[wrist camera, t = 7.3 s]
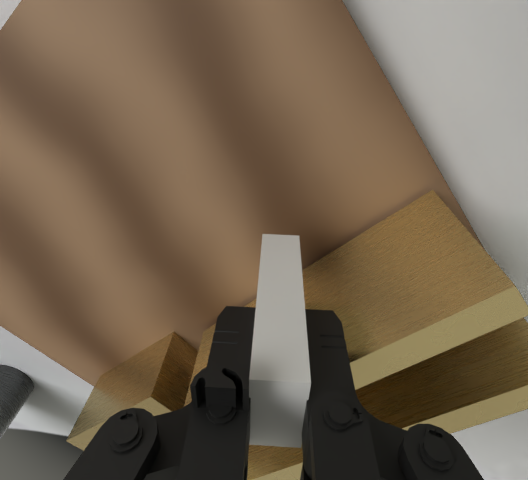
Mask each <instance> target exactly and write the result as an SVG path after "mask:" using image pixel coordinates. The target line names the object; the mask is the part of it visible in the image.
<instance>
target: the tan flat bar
mask: <svg viewBox="0 0 528 480" xmlns="http://www.w3.org/2000/svg"><path fill="white" fill-rule="evenodd" d="M302 276H303V289H304V301H305V309H315V310H333V311H334V313H335V314H336V315H337V317H338V318H339V319H340V321H341V322H342V326H343V331H344V339H345V341H346V346H347V351H348V356H349V361H350V367H351V372H352V377H353V382H354V387H355V390H356V389H359V388H361V387H363V386H366V385H368V384H370V383H372V382H375V381H377V380H379V379H382V378H384V377H386V376H389V375H391V374H393V373H396V372H398V371H400V370H403V369H405V368H407V367H410V366H412V365H414V364H417V363H419V362H421V361H423V360H426V359H428V358H430V357H433V356H435V355H437V354H440V353H442V352H444V351H447V350H449V349H451V348H454V347H456V346H458V345H461V344H463V343H465V342H468V341H470V340H472V339H475V338H477V337H479V336H481V335H484V334H486V333H488V332H491V331H493V330H495V329H498V328H500V327H502V326H505V325H507V324H509V323H512V322H514V321H516V320H519V319H521V318H523V317H526V316H528V306H527V304H526V302H525V301H524V299H523V298H522V296H521V294H520V293H519V291H518V289H517V288H516V286H515V285H514V284H513V283H512V281H511V280H510V279H509V278H508V277H507V276H506V274H505V273H504V272H503V271H502V270H501V269H500V267H499V266H498V265H497V264H496V263H495V262H494V260H493V259H492V258H491V257H490V256H489V255H488V253H487V252H486V251H485V250H484V249H483V248H482V247H481V245H480V244H479V243H478V242H477V241H476V240H475V238H474V237H473V236H472V235H471V234H470V233H469V231H468V230H467V229H466V228H465V227H464V226H463V224H462V223H461V222H460V221H459V220H458V219H457V217H456V216H455V215H454V214H453V213H452V212H451V210H450V209H449V208H448V207H447V206H446V205H445V203H444V202H443V201H442V200H441V199H440V198H439V196H438V195H437V194H436V193H435V192H434V191H433V190H431V191H430V192H428V193H426V194H425V195H423V196H422V197H420V198H418V199H417V200H415V201H413V202H412V203H410V204H409V205H407V206H405V207H404V208H402V209H400V210H399V211H397V212H396V213H394V214H392V215H391V216H389V217H388V218H386V219H384V220H383V221H381V222H379V223H378V224H376V225H375V226H373V227H371V228H370V229H368V230H366V231H365V232H363V233H362V234H360V235H358V236H357V237H355V238H354V239H352V240H350V241H349V242H347V243H345V244H344V245H342V246H341V247H339V248H337V249H336V250H334V251H333V252H331V253H329V254H328V255H326V256H324V257H323V258H321V259H320V260H318V261H316V262H315V263H313V264H311V265H310V266H308V267H307V268H305V269H303V270H302ZM256 299H257V298H256ZM256 299H255V300H253V301H252V302H250V303H248V304H247V305H245V306H243V307H256ZM215 326H216V324H214V325H213V326H211V327H209V328H208V329H206V330H205V331H204V332H203V336H202V339H201V343H200V347H199V351H198V355H197V358H196V362H195V366H194V370H193V374H192V378H191V381H190V385H191V383H192V381H193V378H194V376H195V375H197V374H198V373H199V372H200V371H201V370H202V369H204V368H206V367H207V363H208V358H209V353H210V349H211V344H212V340H213V335H214V332H215ZM190 385H189V389H188V393H187V397H186V400H185V404H184V406H186V405H188V404H189V403H190V402H192V398H191V391H190Z"/></svg>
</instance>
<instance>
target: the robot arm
mask: <svg viewBox="0 0 528 480" xmlns="http://www.w3.org/2000/svg"><path fill="white" fill-rule="evenodd" d="M190 391H191V398H192V402H190V403H189V404H188V405H186V406H184V407H183V408H181V409H178V410H175V411H172V412H168V413H164V414H160V415H157V416H153V415H152V413H150V412H148V411H146V410H145V409H142V408H129V409H125V410H121V411H119V412H118V413H116V414H114V415H113V416H111V417H110V418H109V419H108V420H107V421H106V422H105V423H104V424H103V425H102V426H101V427H100V429H99V430H98V431H97V433H96V434H95V436H94V437H93V438H92V440H91V441H90V443H89V444H88V446H87V447H86V448H85V450H84V451H83V453H82V454H81V455H80V457H79V458H78V460H77V461H76V463H75V464H74V465H73V467H72V468H71V470H70V471H69V472H68V474H67V475H66V477H65V478H64V480H247V475H248V453H249V445H263V446H278V447H295V448H301V445H302V452H303V464H302V470H301V477H300V480H484V479H483V478H482V476H481V475H480V473H479V472H478V470H477V469H476V467H475V465H474V464H473V462H472V461H471V459H470V458H469V456H468V455H467V453H466V452H465V450H464V449H463V447H462V446H461V445H460V444H459V443H458V441H457V440H456V439H455V438H454V437H453V436H452V435H451V434H449V433H448V432H446V431H445V430H444V429H442V428H440V427H437V426H434V425H432V424H416V425H414V426H412V427H410V428H409V429H408V431H407V430H404V429H401V428H399V427H396V426H393V425H391V424H388V423H385V422H383V421H381V420H379V419H377V418H375V417H374V416H373V415H371V414H370V413H368V411H367V410H366V409H365V408H364V407H363V406H362V405H361V403H360V401H359V400H358V398H357V395H356V392H355V387H354V382H353V377H352V372H351V367H350V361H349V356H348V351H347V346H346V341H345V339H344V331H343V326H342V322H341V321H340V319H339V318H338V317H337V315H336V314H335V313H334V311H333V310H315V309H305V301H304V289H303V276H302V264H301V252H300V239H299V236H296V235H276V234H262V245H261V256H260V267H259V278H258V289H257V299H256V307H238V306H226V307H225V308H224V309H223V311H222V312H221V313H220V314H219V316H218V317H217V321H216V326H215V332H214V335H213V340H212V344H211V349H210V353H209V358H208V363H207V367H206V368H204V369H202V370H201V371H200V372H199V373H198V374H197V375H195V376H194V378H193V381H192V383H191V385H190Z"/></svg>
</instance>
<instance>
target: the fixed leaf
mask: <svg viewBox="0 0 528 480" xmlns="http://www.w3.org/2000/svg"><path fill="white" fill-rule="evenodd" d="M197 355H198V350H196V349H195V348H194V347H193V346H191V345H190V344H189V343H188V342H187V341H185V340H184V339H183V338H182V337H180V336H179V335H178V334H177V333H175V332H172V333H170V334H169V335H167V336H165V337H164V338H162V339H160V340H159V341H157V342H155V343H154V344H152V345H150V346H149V347H147V348H145V349H144V350H142V351H140V352H139V353H137V354H135V355H134V356H132V357H130V358H129V359H127V360H125V361H124V362H122V363H121V364H119V365H117V366H116V367H114V368H112V369H111V370H109V371H107V372H106V373H104V374H102V375H101V376H100V377H99V379H98V381H97V383H96V385H95V387H94V389H93V390H92V392H91V394H90V396H89V398H88V400H87V402H86V404H85V406H84V408H83V410H82V412H81V414H80V415H79V417H78V419H77V421H76V423H75V425H74V427H73V429H72V431H71V433H70V435H69V437H68V439H67V442H69V443H71V444H72V445H74V446H76V447H78V448H80V449H82V450H83V451H84V450H85V448H86V447H87V446H88V444H89V443H90V441H91V440H92V438H93V437H94V436H95V434H96V433H97V431H98V430H99V429H100V427H101V426H102V425H103V424H104V423H105V422H106V421H107V420H108V419H109V418H110V417H111V416H113V415H114V414H116V413H118V412H119V411H121V410H125V409H129V408H142V409H145V410H146V411H148V412H150V413H152V415H153V416H157V415H160V414H164V413H168V412H172V411H175V410H178V409H181V408H183V407H184V404H185V400H186V397H187V393H188V389H189V385H190V381H191V378H192V374H193V370H194V366H195V362H196V358H197ZM355 392H356V395H357V398H358V400H359V401H360V403H361V405H362V406H363V407H364V408H365V409H366V410H367V411H368V413H370V414H371V415H373V416H374V417H375V418H377V419H379V420H381V421H383V422H385V423H388V424H391V425H393V426H396V427H399V428H401V429H404V430H407V431H408V429H409V428H410V427H412V426H414V425H416V424H432V425H434V426H437V427H440V428H442V429H444V430H445V431H446V432H448V433H449V434H451V433H454V432H457V431H460V430H463V429H466V428H469V427H472V426H476V425H479V424H482V423H485V422H488V421H491V420H494V419H497V418H501V417H504V416H507V415H510V414H513V413H516V412H519V411H522V410H526V409H528V323H527V322H526V320H525V319H524V318H521V319H519V320H516V321H514V322H512V323H509V324H507V325H505V326H502V327H500V328H498V329H495V330H493V331H491V332H488V333H486V334H484V335H481V336H479V337H477V338H475V339H472V340H470V341H468V342H465V343H463V344H461V345H458V346H456V347H454V348H451V349H449V350H447V351H444V352H442V353H440V354H437V355H435V356H433V357H430V358H428V359H426V360H423V361H421V362H419V363H417V364H414V365H412V366H410V367H407V368H405V369H403V370H400V371H398V372H396V373H393V374H391V375H389V376H386V377H384V378H382V379H379V380H377V381H375V382H372V383H370V384H368V385H366V386H363V387H361V388H359V389H356V390H355ZM302 464H303V452H302V445H301V448H295V447H278V446H263V445H249V453H248V475H247V480H300V477H301V470H302Z"/></svg>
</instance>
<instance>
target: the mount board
mask: <svg viewBox="0 0 528 480" xmlns="http://www.w3.org/2000/svg"><path fill="white" fill-rule="evenodd" d="M431 190H433V191H434V192H435V193H436V194H437V195H438V196H439V198H440V199H441V200H442V201H443V202H444V203H445V205H446V206H447V207H448V208H449V209H450V210H451V212H452V213H453V214H454V215H455V216H456V217H457V219H458V220H459V221H460V222H461V223H462V224H463V226H464V227H465V228H466V229H467V230H468V231H469V233H470V234H471V235H472V236H473V237H474V238H475V240H476V241H477V242H478V243H479V244H480V245H481V247H482V248H483V246H482V244H481V243H480V241H479V239H478V237H477V236H476V234H475V232H474V230H473V229H472V227H471V225H470V223H469V222H468V220H467V218H466V216H465V215H464V213H463V211H462V209H461V208H460V206H459V204H458V202H457V201H456V199H455V197H454V195H453V194H452V192H451V190H450V188H449V187H448V185H447V183H446V181H445V180H444V178H443V176H442V174H441V173H440V171H439V169H438V167H437V166H436V164H435V162H434V160H433V159H432V157H431V155H430V153H429V152H428V150H427V148H426V146H425V145H424V143H423V141H422V139H421V138H420V136H419V134H418V132H417V131H416V129H415V127H414V125H413V124H412V122H411V120H410V118H409V117H408V115H407V113H406V111H405V110H404V108H403V106H402V104H401V103H400V101H399V99H398V97H397V96H396V94H395V92H394V90H393V89H392V87H391V85H390V83H389V82H388V80H387V78H386V76H385V75H384V73H383V71H382V69H381V68H380V66H379V64H378V62H377V61H376V59H375V57H374V55H373V54H372V52H371V50H370V49H369V47H368V45H367V43H366V42H365V40H364V38H363V36H362V35H361V33H360V31H359V29H358V28H357V26H356V24H355V22H354V21H353V19H352V17H351V15H350V14H349V12H348V10H347V8H346V7H345V5H344V3H343V1H342V0H22V1H21V2H20V3H19V5H18V6H17V8H16V9H15V10H14V12H13V13H12V15H11V16H10V17H9V19H8V20H7V22H6V23H5V24H4V26H3V27H2V29H1V30H0V326H2V327H3V328H5V329H6V330H8V331H9V332H11V333H12V334H14V335H15V336H17V337H18V338H20V339H22V340H23V341H25V342H26V343H28V344H29V345H31V346H32V347H34V348H35V349H37V350H39V351H40V352H42V353H43V354H45V355H46V356H48V357H49V358H51V359H52V360H54V361H55V362H57V363H59V364H60V365H62V366H63V367H65V368H66V369H68V370H69V371H71V372H72V373H74V374H76V375H77V376H79V377H80V378H82V379H83V380H85V381H86V382H88V383H89V384H91V385H93V386H94V387H95V385H96V383H97V381H98V379H99V377H100V376H101V375H102V374H104V373H106V372H107V371H109V370H111V369H112V368H114V367H116V366H117V365H119V364H121V363H122V362H124V361H125V360H127V359H129V358H130V357H132V356H134V355H135V354H137V353H139V352H140V351H142V350H144V349H145V348H147V347H149V346H150V345H152V344H154V343H155V342H157V341H159V340H160V339H162V338H164V337H165V336H167V335H169V334H170V333H172V332H175V333H177V334H178V335H179V336H180V337H182V338H183V339H184V340H185V341H187V342H188V343H189V344H190V345H191V346H193V347H194V348H195V349H196V350H198V351H199V347H200V343H201V339H202V336H203V332H204V331H205V330H206V329H208V328H209V327H211V326H213V325H214V324H216V321H217V317H218V316H219V314H220V313H221V312H222V311H223V309H224V308H225V307H226V306H238V307H243V306H245V305H247V304H248V303H250V302H252V301H253V300H255V299H256V298H257V289H258V278H259V267H260V256H261V245H262V234H276V235H296V236H299V239H300V252H301V264H302V270H303V269H305V268H307V267H308V266H310V265H311V264H313V263H315V262H316V261H318V260H320V259H321V258H323V257H324V256H326V255H328V254H329V253H331V252H333V251H334V250H336V249H337V248H339V247H341V246H342V245H344V244H345V243H347V242H349V241H350V240H352V239H354V238H355V237H357V236H358V235H360V234H362V233H363V232H365V231H366V230H368V229H370V228H371V227H373V226H375V225H376V224H378V223H379V222H381V221H383V220H384V219H386V218H388V217H389V216H391V215H392V214H394V213H396V212H397V211H399V210H400V209H402V208H404V207H405V206H407V205H409V204H410V203H412V202H413V201H415V200H417V199H418V198H420V197H422V196H423V195H425V194H426V193H428V192H430V191H431ZM483 249H484V248H483Z"/></svg>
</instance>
